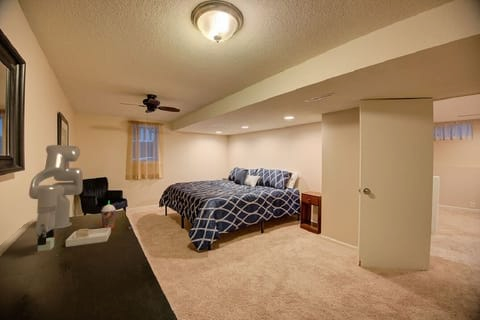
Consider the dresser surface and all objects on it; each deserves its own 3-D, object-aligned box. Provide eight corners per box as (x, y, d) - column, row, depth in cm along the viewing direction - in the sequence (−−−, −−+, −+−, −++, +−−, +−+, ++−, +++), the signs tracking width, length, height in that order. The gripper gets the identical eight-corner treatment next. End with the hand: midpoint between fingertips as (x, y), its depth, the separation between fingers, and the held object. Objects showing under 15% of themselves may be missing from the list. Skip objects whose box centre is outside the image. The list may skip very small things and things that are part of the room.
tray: (74, 236, 125) (74, 231, 125) (110, 232, 133) (110, 227, 133) (65, 246, 110) (65, 240, 110) (106, 241, 118) (106, 235, 118)
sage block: (42, 247, 109) (42, 238, 109) (54, 246, 111) (54, 237, 111) (37, 251, 104) (37, 242, 104) (50, 250, 106) (50, 240, 106)
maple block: (78, 237, 121) (78, 229, 121) (88, 236, 123) (88, 228, 123) (75, 240, 116) (75, 232, 117) (86, 239, 119) (86, 231, 119)
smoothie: (110, 231, 135) (110, 202, 135) (97, 231, 135) (98, 201, 135) (117, 227, 143) (118, 199, 143) (106, 227, 143) (107, 199, 143)
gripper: (45, 207, 114) (44, 237, 113) (29, 213, 98) (28, 249, 98) (62, 206, 117) (61, 235, 116) (49, 212, 101) (48, 246, 101)
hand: (46, 241), depth 107 cm, fingers open, 9 cm apart
